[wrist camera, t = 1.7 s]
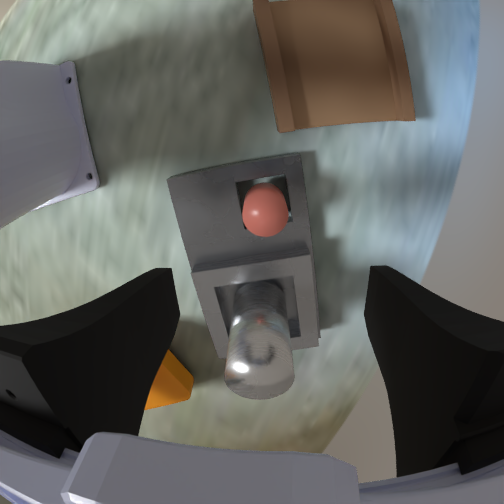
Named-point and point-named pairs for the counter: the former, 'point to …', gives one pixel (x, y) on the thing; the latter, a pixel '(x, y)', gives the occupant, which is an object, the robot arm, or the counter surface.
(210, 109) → the counter surface
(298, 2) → the brown piece
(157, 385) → the bracket
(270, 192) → the button
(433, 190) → the counter surface
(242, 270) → the socket block
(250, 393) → the steel round bar
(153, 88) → the counter surface
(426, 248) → the counter surface
